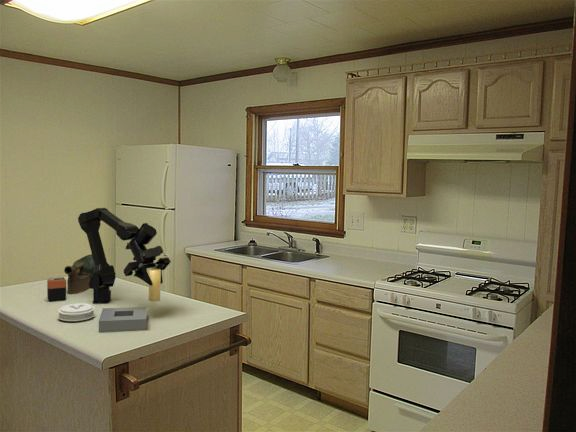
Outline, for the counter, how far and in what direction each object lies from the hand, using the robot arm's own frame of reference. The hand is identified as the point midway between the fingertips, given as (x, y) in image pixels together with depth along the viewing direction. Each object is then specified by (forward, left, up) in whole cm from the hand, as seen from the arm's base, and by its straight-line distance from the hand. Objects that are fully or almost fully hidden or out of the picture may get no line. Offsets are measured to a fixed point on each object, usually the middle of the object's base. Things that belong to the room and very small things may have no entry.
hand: (156, 284), depth 188 cm
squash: (-32, +62, -14) cm, 71 cm away
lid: (-29, +4, -14) cm, 33 cm away
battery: (-41, +31, -14) cm, 53 cm away
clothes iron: (-35, +46, -14) cm, 60 cm away
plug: (-1, +1, -7) cm, 7 cm away
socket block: (-12, -6, -13) cm, 19 cm away
